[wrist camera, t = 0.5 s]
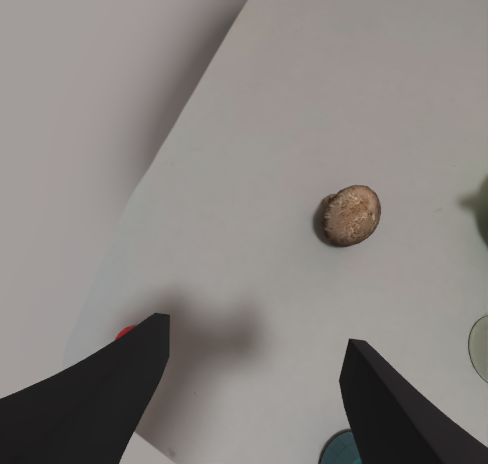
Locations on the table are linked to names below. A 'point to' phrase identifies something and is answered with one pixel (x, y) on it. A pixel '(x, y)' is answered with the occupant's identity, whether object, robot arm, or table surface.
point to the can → (480, 347)
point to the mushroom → (350, 215)
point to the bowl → (342, 451)
